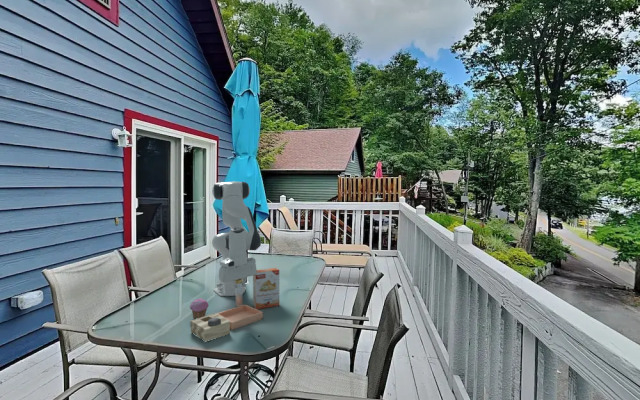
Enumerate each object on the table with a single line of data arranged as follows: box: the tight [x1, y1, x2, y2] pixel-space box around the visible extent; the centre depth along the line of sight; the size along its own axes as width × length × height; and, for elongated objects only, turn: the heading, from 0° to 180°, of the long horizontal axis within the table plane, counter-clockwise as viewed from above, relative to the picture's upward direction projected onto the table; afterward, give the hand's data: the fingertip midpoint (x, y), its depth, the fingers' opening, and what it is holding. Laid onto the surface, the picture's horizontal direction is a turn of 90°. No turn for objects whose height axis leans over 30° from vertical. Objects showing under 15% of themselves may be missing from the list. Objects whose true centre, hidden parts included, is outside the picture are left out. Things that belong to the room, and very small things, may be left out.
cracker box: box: [252, 267, 280, 310], centre depth 188 cm, size 14×6×21 cm, turn 118°
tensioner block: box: [190, 313, 231, 341], centre depth 154 cm, size 14×12×7 cm
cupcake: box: [189, 297, 209, 319], centre depth 172 cm, size 9×9×10 cm
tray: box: [215, 304, 264, 331], centre depth 170 cm, size 16×18×4 cm
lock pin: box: [235, 279, 244, 307], centre depth 169 cm, size 4×4×13 cm
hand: (238, 287), depth 169 cm, fingers closed on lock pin, 3 cm apart
